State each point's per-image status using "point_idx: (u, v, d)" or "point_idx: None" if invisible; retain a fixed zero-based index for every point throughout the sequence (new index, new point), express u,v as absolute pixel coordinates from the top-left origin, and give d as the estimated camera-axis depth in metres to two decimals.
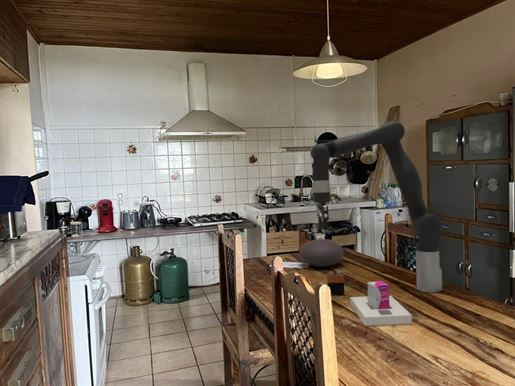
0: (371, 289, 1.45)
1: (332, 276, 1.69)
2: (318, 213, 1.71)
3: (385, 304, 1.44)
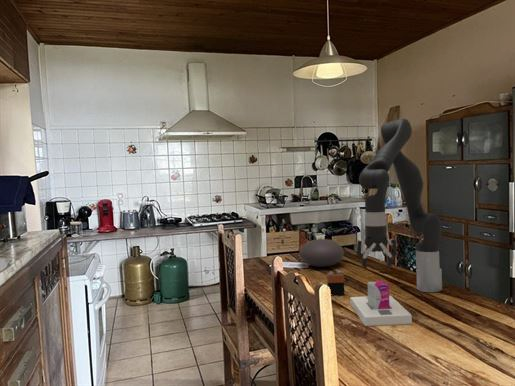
0: (371, 289, 1.45)
1: (332, 276, 1.69)
2: (370, 251, 1.44)
3: (385, 304, 1.44)
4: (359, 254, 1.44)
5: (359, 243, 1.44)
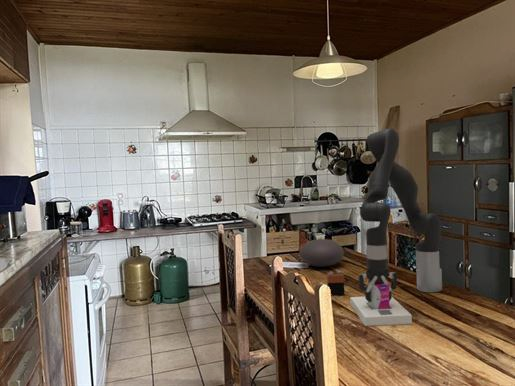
0: (371, 289, 1.45)
1: (332, 276, 1.69)
2: None
3: (385, 304, 1.44)
4: (362, 288, 1.45)
5: (361, 277, 1.45)
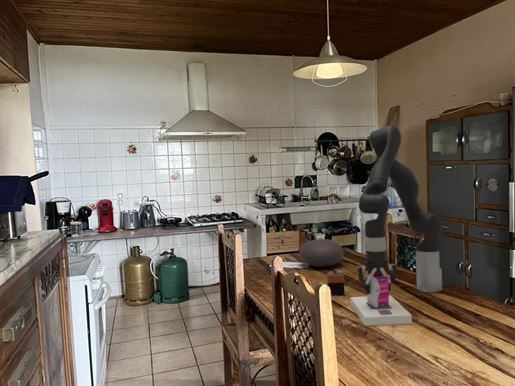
0: (370, 281, 1.45)
1: (332, 276, 1.69)
2: None
3: (385, 296, 1.44)
4: (362, 280, 1.45)
5: (360, 269, 1.44)
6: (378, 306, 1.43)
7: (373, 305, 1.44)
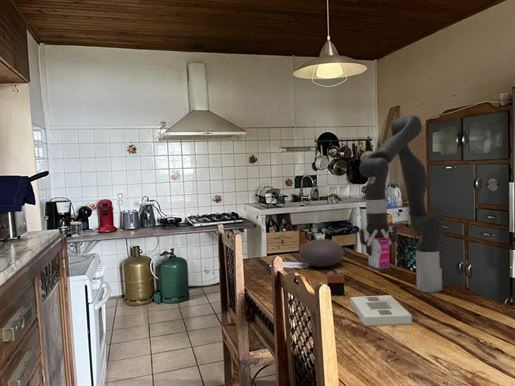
0: (372, 242, 1.49)
1: (332, 276, 1.69)
2: None
3: (386, 257, 1.48)
4: (363, 242, 1.49)
5: (361, 231, 1.48)
6: (379, 267, 1.47)
7: (375, 266, 1.48)
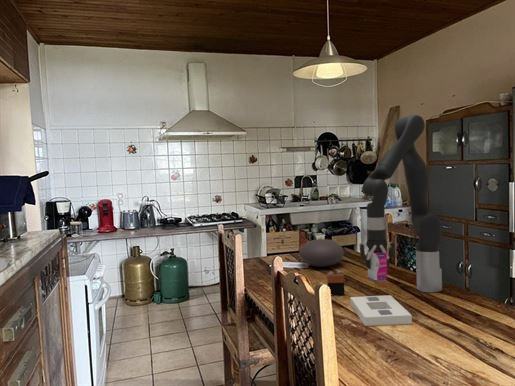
0: (371, 257, 1.62)
1: (332, 276, 1.69)
2: (372, 252, 1.61)
3: (383, 270, 1.61)
4: (363, 256, 1.61)
5: (362, 246, 1.61)
6: (377, 279, 1.60)
7: (373, 278, 1.61)
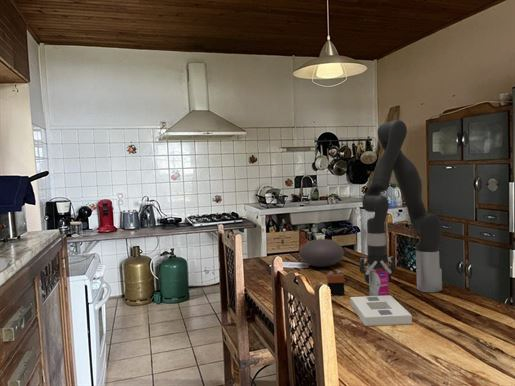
0: (372, 276, 1.62)
1: (332, 276, 1.69)
2: None
3: (385, 289, 1.61)
4: (362, 271, 1.62)
5: (362, 261, 1.61)
6: None
7: None
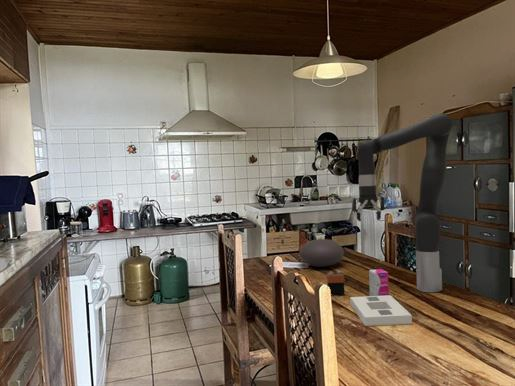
0: (372, 276, 1.62)
1: (332, 276, 1.69)
2: (363, 206, 1.78)
3: (385, 289, 1.61)
4: (354, 209, 1.78)
5: (354, 200, 1.78)
6: None
7: None
